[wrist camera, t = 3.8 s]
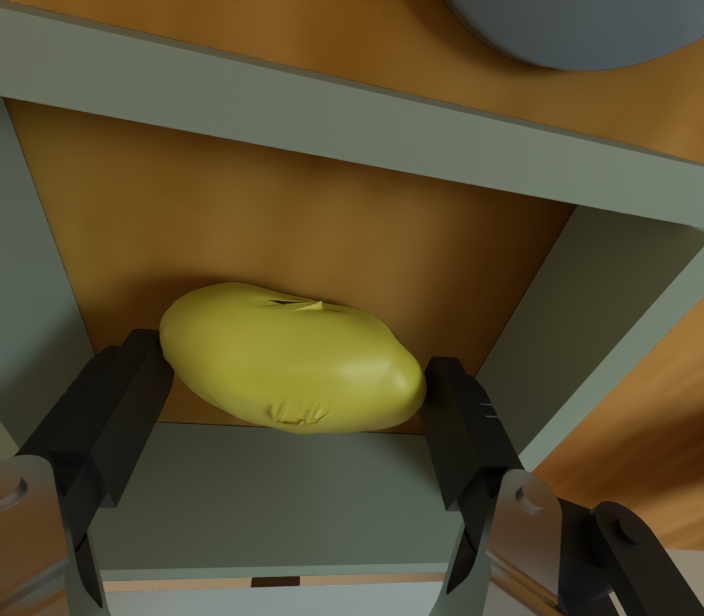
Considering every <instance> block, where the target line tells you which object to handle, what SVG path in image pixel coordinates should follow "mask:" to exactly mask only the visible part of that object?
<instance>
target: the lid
mask: <svg viewBox="0 0 704 616" xmlns="http://www.w3.org/2000/svg"><path fill="white" fill-rule="evenodd" d="M442 584H443V582H413V583H384V584H383V583H381V584H349V585H318V586H285V587H253V588H222V589H192V590H191V589H190V590H159V591H128V592H105V596H106V600H107V605H108V608H109V612H110V615H111V616H429V614H430V612H431V610H432V608H433V606H434V605H435V603H436V601H437V598H438V596H439V593H440V591H441V587H442Z"/></svg>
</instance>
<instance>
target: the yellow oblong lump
mask: <svg viewBox="0 0 704 616" xmlns="http://www.w3.org/2000/svg"><path fill="white" fill-rule="evenodd" d="M322 301H323V300H322ZM322 301H315V300H311V299H307V298H303V297H298V296H292V295H288V294H284V293H280V292H276V291H273V290H269V289H266V288H262V287H258V286H254V285H250V284H245V283H239V282H225V283H219V284H215V285H211V286H207V287H203V288H200V289H197V290H194V291H191V292H189V293H187V294H185V295H183V296H182V297H180V298H179V299H177V300H176V301H175V302H174V303H173V304H172V305H171V306H170V307H169V309H167V310H166V312H165V313H164V315H163V317H162V319H161V322H160V326H159V332H160V344H161V347H162V351H163V357H164V359H165V360H166V361H167V362H168V363H169V364H170V365H171V367H172V368H173V370H174V371H175V373H176V374H177V375H178V377H179V378H180V379H181V380H182V382H183V383H184V384H185V385H186V386H187V387H188V388H189V389H190V390H191V391H192V392H193V393H195V394H196V395H197V396H199V397H200V398H201V399H203V400H205V401H206V402H208V403H210V404H212V405H213V406H215V407H217V408H219V409H221V410H223V411H225V412H227V413H229V414H231V415H233V416H235V417H237V418H239V419H241V420H243V421H246V422H249V423H253V424H257V425H262V426H267V427H271V428H275V429H279V430H282V431H286V432H289V433H293V434H314V433H333V434H337V433H352V432H360V431H370V430H378V429H385V428H389V427H393V426H396V425H399V424H401V423H403V422H405V421H407V420H408V419H409V418H411V417H412V416H413V415H414V414H415V413H416V412H417V411H418V410H419V409H420V407H421V406H422V404H423V402H424V400H425V398H426V394H427V383H426V377H425V374H424V372H423V369H422V367H421V366H420V364H419V363H418V362H417V360H416V359H415V358H414V357H413V356H412V355H411V353H410V352H409V351H408V350H407V349H406V348H405V347H404V346H403V345H402V344H401V343H400V342H399V341H398V340H397V339H396V338H395V337H394V335H393V334H392V332H391V331H390V329H389V328H388V327H387V326H386V325H385V324H384V323H383V322H382V321H381V320H380V319H378V318H377V317H375V316H373V315H371V314H369V313H367V312H365V311H362V310H359V309H355V308H351V307H346V306H340V305H332V304H327V303H323V302H322Z"/></svg>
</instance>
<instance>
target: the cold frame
mask: <svg viewBox="0 0 704 616" xmlns="http://www.w3.org/2000/svg"><path fill="white" fill-rule="evenodd" d="M2 96H3V97H8V98H13V99H19V100H24V101H29V102H35V103H40V104H45V105H51V106H56V107H61V108H67V109H72V110H77V111H83V112H88V113H93V114H99V115H104V116H109V117H115V118H120V119H125V120H131V121H136V122H141V123H147V124H152V125H157V126H163V127H168V128H173V129H179V130H184V131H189V132H195V133H200V134H205V135H211V136H216V137H221V138H227V139H232V140H237V141H243V142H248V143H253V144H259V145H264V146H269V147H275V148H280V149H285V150H291V151H296V152H301V153H307V154H312V155H317V156H323V157H328V158H333V159H339V160H344V161H349V162H355V163H360V164H365V165H371V166H376V167H381V168H387V169H392V170H397V171H403V172H408V173H413V174H419V175H424V176H429V177H435V178H440V179H445V180H451V181H456V182H461V183H467V184H472V185H477V186H483V187H488V188H493V189H499V190H504V191H509V192H515V193H520V194H525V195H531V196H536V197H541V198H547V199H552V200H557V201H563V202H568V203H573V204H578V205H577V207H576V208H575V210H574V212H573V213H572V215H571V217H570V218H569V220H568V222H567V223H566V225H565V227H564V228H563V230H562V232H561V234H560V235H559V237H558V239H557V240H556V242H555V244H554V245H553V247H552V249H551V250H550V252H549V254H548V255H547V257H546V259H545V260H544V262H543V264H542V265H541V267H540V269H539V271H538V272H537V274H536V276H535V277H534V279H533V281H532V282H531V284H530V286H529V287H528V289H527V291H526V292H525V294H524V296H523V297H522V299H521V301H520V303H519V304H518V306H517V308H516V309H515V311H514V313H513V314H512V316H511V318H510V319H509V321H508V323H507V324H506V326H505V328H504V329H503V331H502V333H501V334H500V336H499V338H498V340H497V341H496V343H495V345H494V346H493V348H492V350H491V351H490V353H489V355H488V356H487V358H486V360H485V361H484V363H483V365H482V366H481V368H480V370H479V371H478V373H477V375H476V377H475V379H476V380H477V381H478V383H479V384H480V385H481V386H482V387H483V388H484V389H485V391H486V393H487V395H488V397H489V399H490V401H491V403H492V407H494V409H495V411H496V413H497V415H498V419H500V421H501V423H502V425H503V427H504V429H505V431H506V433H507V435H508V437H509V439H510V441H511V443H512V445H513V447H514V449H515V451H516V453H517V455H518V457H519V459H520V461H521V463H522V465H523V467H524V469H525V470H526V471H528V472H530V473H531V472H532V471H533V470H534V469H535V468H536V467H537V466H538V465H539V464H540V463H541V462H542V461H543V460H544V459H545V458H546V457H547V456H548V455H549V454H550V453H551V452H552V451H553V450H554V449H555V448H556V447H557V446H558V445H559V444H560V442H561V441H562V440H563V439H564V438H565V437H566V436H567V435H568V434H569V433H570V432H571V431H572V430H573V429H574V428H575V427H576V426H577V425H578V424H579V423H580V422H581V421H582V420H583V419H584V418H585V417H586V416H587V415H588V414H589V413H590V412H591V411H592V410H593V409H594V408H595V407H596V406H597V405H598V404H599V403H600V402H601V401H602V399H603V398H604V397H605V396H606V395H607V394H608V393H609V392H610V391H611V390H612V389H613V388H614V387H615V386H616V385H617V384H618V383H619V382H620V381H621V380H622V379H623V378H624V377H625V376H626V375H627V374H628V373H629V372H630V371H631V370H632V369H633V368H634V367H635V366H636V365H637V364H638V363H639V362H640V361H641V360H642V359H643V358H644V356H645V355H646V354H647V353H648V352H649V351H650V350H651V349H652V348H653V347H654V346H655V345H656V344H657V343H658V342H659V341H660V340H661V339H662V338H663V337H664V336H665V335H666V334H667V333H668V332H669V331H670V330H671V329H672V328H673V327H674V326H675V325H676V324H677V323H678V322H679V321H680V320H681V319H682V318H683V317H684V316H685V315H686V313H687V312H688V311H689V310H690V309H691V308H692V307H693V306H694V305H695V304H696V303H697V302H698V301H699V300H700V299H701V298H702V297H703V296H704V164H703V163H699V162H695V161H692V160H688V159H684V158H681V157H677V156H673V155H670V154H666V153H662V152H659V151H655V150H651V149H648V148H643V147H639V146H635V145H630V144H626V143H622V142H617V141H613V140H609V139H604V138H600V137H595V136H591V135H587V134H582V133H578V132H574V131H569V130H565V129H561V128H556V127H552V126H548V125H543V124H539V123H535V122H530V121H526V120H522V119H517V118H513V117H508V116H504V115H500V114H495V113H491V112H487V111H482V110H478V109H474V108H469V107H465V106H461V105H456V104H452V103H448V102H443V101H439V100H435V99H430V98H426V97H421V96H417V95H413V94H408V93H404V92H400V91H395V90H391V89H387V88H382V87H378V86H374V85H369V84H365V83H361V82H356V81H352V80H348V79H343V78H339V77H334V76H330V75H326V74H321V73H317V72H313V71H308V70H304V69H300V68H295V67H291V66H287V65H282V64H278V63H274V62H269V61H265V60H261V59H256V58H252V57H247V56H243V55H239V54H234V53H230V52H226V51H221V50H217V49H213V48H208V47H204V46H200V45H195V44H191V43H187V42H182V41H178V40H173V39H169V38H165V37H160V36H156V35H152V34H147V33H143V32H139V31H134V30H130V29H126V28H121V27H117V26H113V25H108V24H104V23H100V22H95V21H91V20H86V19H82V18H78V17H73V16H69V15H65V14H60V13H56V12H52V11H47V10H43V9H39V8H34V7H30V6H26V5H21V4H17V3H13V2H8V1H4V0H0V461H1V460H4V459H7V458H10V457H13V456H14V455H15V454H16V453H17V452H18V451H19V450H20V449H21V447H22V446H23V445H24V444H25V442H26V441H27V440H28V438H29V437H30V436H31V435H32V433H33V432H34V431H35V429H36V428H37V427H38V426H39V424H40V423H41V422H42V420H43V419H44V418H45V417H46V415H47V414H48V413H49V412H50V410H51V409H52V408H53V406H54V405H55V404H56V403H57V401H58V400H59V399H60V397H61V396H62V395H63V394H64V393H66V392H67V388H68V387H69V386H70V385H71V383H72V382H73V381H74V379H77V378H78V374H79V373H80V372H81V371H82V369H83V368H84V367H85V365H86V364H87V363H88V362H89V360H90V359H91V358H93V357H94V356H95V353H94V350H93V348H92V345H91V342H90V339H89V337H88V334H87V331H86V328H85V325H84V323H83V320H82V317H81V314H80V311H79V309H78V306H77V303H76V300H75V298H74V295H73V292H72V289H71V286H70V284H69V281H68V278H67V275H66V272H65V270H64V267H63V264H62V261H61V259H60V256H59V253H58V250H57V247H56V245H55V242H54V239H53V236H52V233H51V231H50V228H49V225H48V222H47V220H46V217H45V214H44V211H43V208H42V206H41V203H40V200H39V197H38V194H37V192H36V189H35V186H34V183H33V181H32V178H31V175H30V172H29V169H28V167H27V164H26V161H25V158H24V155H23V153H22V150H21V147H20V144H19V141H18V139H17V136H16V133H15V130H14V128H13V125H12V122H11V119H10V116H9V114H8V111H7V108H6V105H5V102H4V100H3V97H2ZM463 522H464V521H463V518H462V514H461V511H446V509H445V506H444V502H443V498H442V495H441V491H440V488H439V484H438V480H437V477H436V473H435V470H434V466H433V462H432V459H431V455H430V452H429V448H428V444H427V441H426V437H425V435H411V434H390V433H369V432H352V433H337V434H333V433H314V434H293V433H289V432H286V431H282V430H279V429H275V428H264V427H243V426H222V425H201V424H180V423H159V422H156V423H155V425H154V427H153V429H152V431H151V433H150V436H149V438H148V440H147V442H146V444H145V447H144V449H143V451H142V453H141V455H140V457H139V460H138V462H137V464H136V466H135V468H134V470H133V473H132V475H131V477H130V479H129V481H128V483H127V486H126V488H125V490H124V492H123V494H122V496H121V499H120V501H119V503H118V505H117V507H116V508H98V509H97V511H96V513H95V515H94V517H93V519H92V521H91V523H90V525H89V528H90V532H91V536H92V540H93V544H94V549H95V553H96V557H97V562H98V566H99V570H100V575H101V579H102V581H131V580H168V579H169V580H170V579H205V578H243V577H244V578H245V577H283V576H319V575H358V574H396V573H430V572H446V571H447V568H448V565H449V561H450V558H451V555H452V552H453V548H454V545H455V542H456V539H457V536H458V532H459V529H460V526H461V524H462V523H463Z"/></svg>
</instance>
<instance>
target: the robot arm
mask: <svg viewBox="0 0 704 616" xmlns="http://www.w3.org/2000/svg"><path fill="white" fill-rule="evenodd" d="M424 374H425V377H426V383H427V394H426V398H425V400H424V402H423V404H422V406H421V407H420V409H419V410H418V412H419V416H420V419H421V423H422V426H423V430H424V434H425V437H426V441H427V444H428V448H429V452H430V455H431V459H432V462H433V466H434V470H435V473H436V477H437V480H438V484H439V488H440V491H441V495H442V498H443V502H444V506H445V509H446V511H461V514H462V518H463V521H464V522H463V523H462V524H461V526H460V529H459V532H458V536H457V539H456V542H455V545H454V548H453V552H452V555H451V558H450V561H449V565H448V568H447V571H446V574H445V578H444V581H443V584H442V587H441V591H440V593H439V596H438V598H437V601H436V603H435V605H434V606H433V608H432V610H431V612H430V614H429V616H619V614H618V613H617V610H616V608H615V606H614V604H613V602H612V600H611V598H610V596H609V593H612V592H615V594H616V596H617V598H618V600H619V601H620V603H621V605H622V607H623V609H624V611H625V613H626V615H627V616H704V607H703V606H702V604H701V603H700V602H699V600H698V599H697V597H696V596H695V594H694V593H693V591H692V590H691V588H690V587H689V585H688V584H687V582H686V581H685V579H684V578H683V576H682V575H681V573H680V572H679V570H678V569H677V568H676V566H675V564H674V563H673V562H672V560H671V558H670V557H669V555H668V554H667V552H666V551H665V549H664V548H663V547H662V545H661V544H660V542H659V541H658V539H657V538H656V536H655V535H654V533H653V532H652V531H651V529H650V528H649V527H648V526H647V525H646V523H645V522H644V521H643V520H642V519H641V518H639V517H638V516H637V515H636V514H635V513H633V512H632V511H631V510H629V509H628V508H626V507H624V506H622V505H620V504H618V503H615V502H610V501H604V502H601V503H600V504H598V505H597V506H596V507H594V508H593V509H592V510H591V509H588V508H585V507H582V506H580V505H577V504H574V503H571V502H569V501H566V500H563V499H560V498H558V497H556V496H555V494H554V493H553V491H552V490H551V489H550V487H549V486H548V485H547V484H546V483H545V482H544V481H542V480H541V479H540V478H539V477H537V476H536V475H534V474H532V473H530V472H528V471H526V470H525V469H524V467H523V465H522V463H521V461H520V459H519V457H518V455H517V453H516V451H515V449H514V447H513V445H512V443H511V441H510V439H509V437H508V435H507V433H506V431H505V429H504V427H503V425H502V423H501V421H500V419H498V415H497V413H496V411H495V409H494V407H492V403H491V401H490V399H489V397H488V395H487V393H486V391H485V389H484V388H483V387H482V386H481V385H480V384H479V383H478V381H477V380H476V379H475V378H474V377H473V376H471V375H466V373H465V371H464V369H463V367H462V364H461V362H460V361H459V359H457V358H452V357H440V356H433V357H432V358H431V359H430V361H429V363H428V366H427V368H426V370H425V372H424ZM173 379H174V370H173V368H172V367H171V365H170V364H169V363H168V362H167V361H166V360H165V359H164V357H163V351H162V347H161V344H160V332H159V330H147V329H134V330H133V331H132V332H131V333H130V334H129V336H128V337H127V338H126V340H125V341H124V343H123V344H122V345H121V346H109V347H107V348H106V349H104V350H103V351H101V352H100V353H99V354H97V355H96V356H94V357H93V358H91V359H90V360H89V362H88V363H87V364H86V365H85V367H84V368H83V369H82V371H81V372H80V373H79V374H78V378H77V379H74V381H73V382H72V383H71V385H70V386H69V387H68V388H67V392H66V393H64V394H63V395H62V396H61V397H60V399H59V400H58V401H57V403H56V404H55V405H54V406H53V408H52V409H51V410H50V412H49V413H48V414H47V415H46V417H45V418H44V419H43V420H42V422H41V423H40V424H39V426H38V427H37V428H36V429H35V431H34V432H33V433H32V435H31V436H30V437H29V438H28V440H27V441H26V442H25V444H24V445H23V446H22V447H21V449H20V450H19V451H18V452H17V453H16V454H15V455H14V456H13V457H10V458H7V459H4V460H1V461H0V616H111V615H110V612H109V608H108V605H107V600H106V596H105V592H104V588H103V583H102V579H101V575H100V570H99V566H98V562H97V557H96V553H95V549H94V544H93V540H92V536H91V532H90V528H89V525H90V523H91V521H92V519H93V517H94V515H95V513H96V511H97V509H98V508H116V507H117V505H118V503H119V501H120V499H121V496H122V494H123V492H124V490H125V488H126V486H127V483H128V481H129V479H130V477H131V475H132V473H133V470H134V468H135V466H136V464H137V462H138V460H139V457H140V455H141V453H142V451H143V449H144V447H145V444H146V442H147V440H148V438H149V436H150V433H151V431H152V429H153V427H154V425H155V423H156V420H157V418H158V416H159V414H160V412H161V410H162V407H163V405H164V403H165V401H166V399H167V397H168V394H169V392H170V390H171V387H172V384H173Z"/></svg>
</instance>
